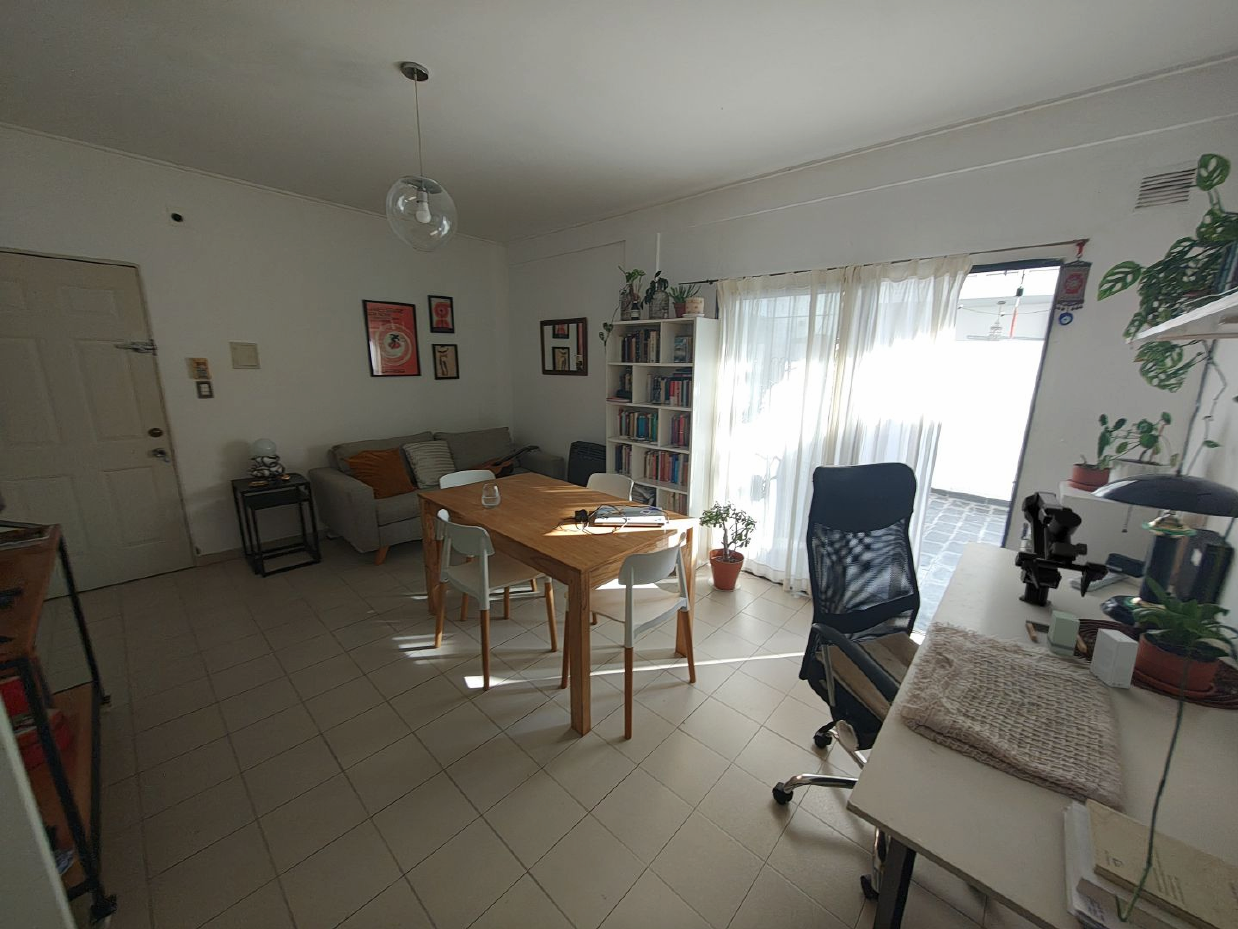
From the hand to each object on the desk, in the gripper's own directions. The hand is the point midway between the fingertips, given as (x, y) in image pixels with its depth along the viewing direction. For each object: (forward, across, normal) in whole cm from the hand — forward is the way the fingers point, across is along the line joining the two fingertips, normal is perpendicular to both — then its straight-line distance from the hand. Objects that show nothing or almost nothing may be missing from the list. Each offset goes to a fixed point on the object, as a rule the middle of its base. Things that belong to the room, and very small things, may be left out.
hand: (1060, 592), depth 126 cm
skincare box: (+23, +7, -4) cm, 24 cm away
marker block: (+15, 0, +4) cm, 16 cm away
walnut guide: (+11, 0, +8) cm, 14 cm away
